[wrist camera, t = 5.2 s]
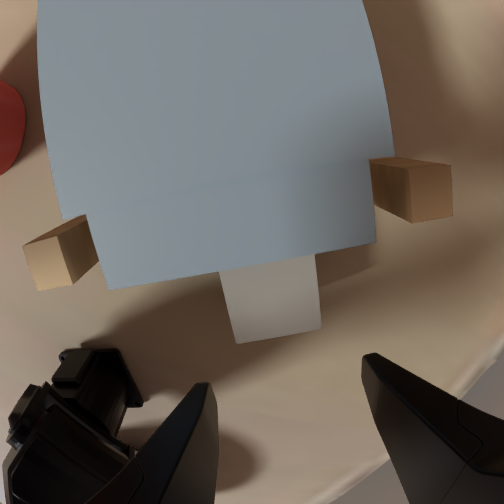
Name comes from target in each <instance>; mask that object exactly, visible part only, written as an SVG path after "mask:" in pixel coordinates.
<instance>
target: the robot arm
mask: <svg viewBox="0 0 504 504" xmlns="http://www.w3.org/2000/svg"><path fill="white" fill-rule="evenodd" d="M113 354H115V355H116V356H114V355H113ZM59 360H60V361H61V363H62V364H61V365H60V366H59V368H58V369H57V371H56V372H55V374H54V375H53V377H52V379H51V380H52V382H53V384H52V385H50V384H49V383H48V382H45V383H44V384H43V385H42V386H41V387H40V386H36V385H32V384H30V385H29V386H28V388H27V389H26V390H25V392H24V393H23V395H22V396H21V398H20V399H19V400H18V402H17V404H16V405H15V407H14V409H13V410H12V412H11V414H10V416H9V417H8V420H9V425H10V429H9V431H8V433H9V435H8V437H7V439H6V442H7V443H8V444H10V445H11V446H12V448H11V450H10V451H9V453H8V455H7V456H6V458H5V460H4V462H3V465H2V468H3V480H4V490H5V498H6V504H214V500H215V488H216V477H217V466H218V455H219V436H218V411H217V402H216V398H215V396H214V393H213V390H212V387H211V384H210V383H209V382H202V383H196V384H195V385H194V386H193V387H192V388H191V390H190V391H189V392H188V393H187V395H186V396H185V397H184V398H183V399H182V401H181V402H180V403H179V404H178V405H177V407H176V408H175V409H174V410H173V411H172V413H171V414H170V415H169V416H168V417H167V418H166V420H165V421H164V422H163V423H162V424H161V426H160V427H159V428H158V429H157V430H156V431H155V433H154V434H153V435H152V436H151V437H150V438H149V440H148V441H147V442H146V443H145V444H144V445H143V446H142V448H141V449H140V450H139V451H138V452H137V453H136V455H135V449H134V448H132V447H130V446H127V445H126V444H124V443H123V442H121V441H120V440H118V439H117V435H118V432H119V429H120V426H121V424H122V421H123V418H124V415H125V413H126V410H127V408H138V407H142V406H143V403H144V401H143V399H142V397H141V395H140V393H139V391H138V389H137V387H136V385H135V383H134V381H133V379H132V377H131V375H130V373H129V371H128V369H127V367H126V365H125V363H124V360H123V358H122V356H121V354H120V352H119V351H118V350H117V349H100V350H93V349H87V350H71V351H69V352H61V353H60V355H59ZM361 378H362V383H363V386H364V389H365V392H366V396H367V399H368V402H369V405H370V409H371V412H372V415H373V419H374V422H375V424H376V427H377V429H378V431H379V433H380V436H381V438H382V440H383V442H384V445H385V447H386V449H387V452H388V454H389V456H390V458H391V461H392V463H393V465H394V468H395V470H396V472H397V475H398V477H399V479H400V482H401V484H402V487H403V489H404V491H405V494H406V496H407V499H408V501H409V503H410V504H504V420H502V419H500V418H497V417H495V416H492V415H490V414H488V413H485V412H483V411H481V410H479V409H477V408H475V407H473V406H471V405H469V404H467V403H465V402H463V401H462V400H460V399H459V400H458V399H457V398H456V397H454V396H452V395H450V394H449V393H447V392H445V391H443V390H441V389H440V388H438V387H436V386H434V385H432V384H431V383H429V382H427V381H425V380H424V379H422V378H420V377H418V376H416V375H415V374H413V373H411V372H409V371H408V370H406V369H404V368H402V367H400V366H399V365H397V364H395V363H393V362H392V361H390V360H388V359H386V358H385V357H383V356H381V355H379V354H378V353H370V354H366V355H364V356H363V357H362V372H361ZM138 402H139V403H138Z"/></svg>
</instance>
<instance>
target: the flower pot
mask: <svg viewBox="0 0 504 504" xmlns="http://www.w3.org/2000/svg"><path fill="white" fill-rule="evenodd" d="M25 126H26V114H25V107H24V103H23V100H22V98H21V96H20V94H19V93H18V92H17V90H16V89H15V88H13V87H12V86H10V85H8V84H7V83H5V82H3V81H1V80H0V175H2V174H3V173H4V172H6V171H7V170H8V169H9V168H10V166H11V165H12V164H13V162H14V161H15V159H16V157H17V156H18V154H19V151H20V149H21V146H22V142H23V135H24V133H25Z"/></svg>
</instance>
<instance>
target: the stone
mask: <svg viewBox="0 0 504 504" xmlns="http://www.w3.org/2000/svg"><path fill="white" fill-rule="evenodd" d="M219 275H220V279H221V283H222V288H223V292H224V296H225V300H226V304H227V309H228V313H229V317H230V321H231V325H232V329H233V333H234V337H235V341H236V344H240V343H246V342H253V341H259V340H265V339H271V338H276V337H282V336H287V335H293V334H298V333H303V332H308V331H313V330H318V329H322V325H321V313H320V302H319V292H318V282H317V272H316V263H315V254H313V255H307V256H302V257H296V258H291V259H285V260H280V261H275V262H269V263H263V264H258V265H252V266H247V267H241V268H236V269H230V270H224V271H219Z"/></svg>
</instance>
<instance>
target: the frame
mask: <svg viewBox="0 0 504 504" xmlns="http://www.w3.org/2000/svg"><path fill="white" fill-rule="evenodd" d="M369 166H370V174H371V183H372V193H373V204H374V205H376V206H378V207H380V208H382V209H384V210H386V211H388V212H390V213H392V214H394V215H396V216H398V217H400V218H402V219H404V220H406V221H408V222H410V223H417V222H423V221H428V220H434V219H439V218H445V217H450V216H453V203H452V178H451V165H447V164H440V163H433V162H426V161H419V160H411V159H403V158H394V157H383V158H374V159H369ZM22 247H23V250H24V253H25V256H26V259H27V262H28V265H29V268H30V271H31V274H32V277H33V279H34V282H35V285H36V287H37V290H38V291H41V290H47V289H52V288H58V287H63V286H69V285H73V284H74V283H75V282H76V281H77V280H79V279H80V278H81V277H82V276H83V275H84V274H85V273H86V272H87V271H88V270H90V269H91V268H92V267H93V266H94V265H95V264H96V263H97V262H98V261H99V258H98V255H97V252H96V249H95V245H94V242H93V239H92V235H91V232H90V228H89V224H88V221H87V217H86V214H84V215H80V216H78V217H76V218H74V219H72V220H70V221H68V222H66V223H64V224H62V225H61V226H59V227H57V228H55V229H53V230H51V231H49V232H47V233H45V234H43V235H41V236H40V237H38V238H36V239H34V240H32V241H30V242H29V243H27V244H25V245H23V246H22Z"/></svg>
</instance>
